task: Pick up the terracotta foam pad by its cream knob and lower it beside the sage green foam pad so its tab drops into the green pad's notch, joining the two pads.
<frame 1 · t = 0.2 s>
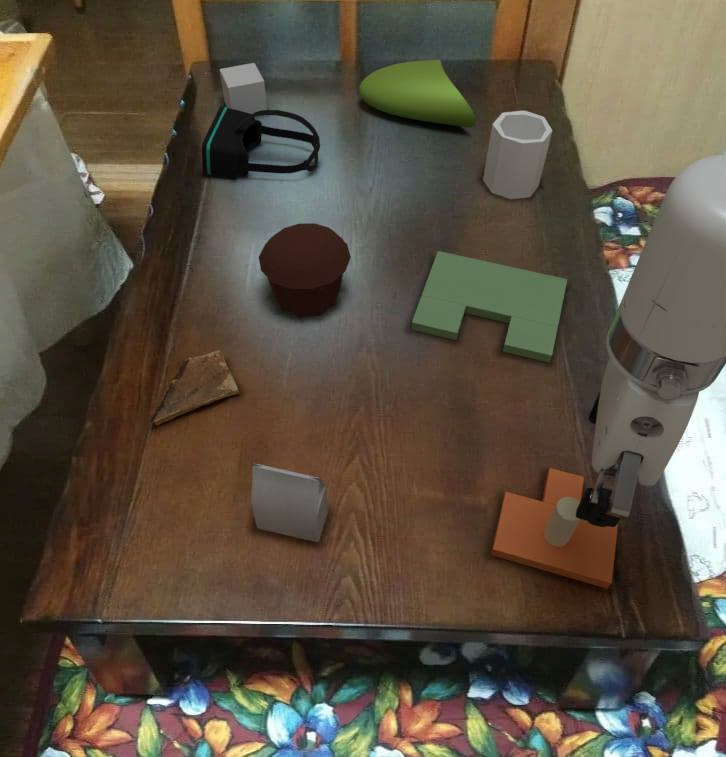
hand: (600, 469, 62), 18 cm above the table, tool pointing down, fingers open, 9 cm apart
shard: (203, 397, 88), on the table
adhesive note: (246, 108, 125), on the table
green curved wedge: (416, 112, 125), on the table
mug: (510, 176, 115), on the table
notch pad: (489, 307, 97), on the table
grey piece: (292, 520, 78), on the table
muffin: (307, 294, 99), on the table
virtual reality headset: (266, 163, 116), on the table
tab pad: (553, 541, 77), on the table
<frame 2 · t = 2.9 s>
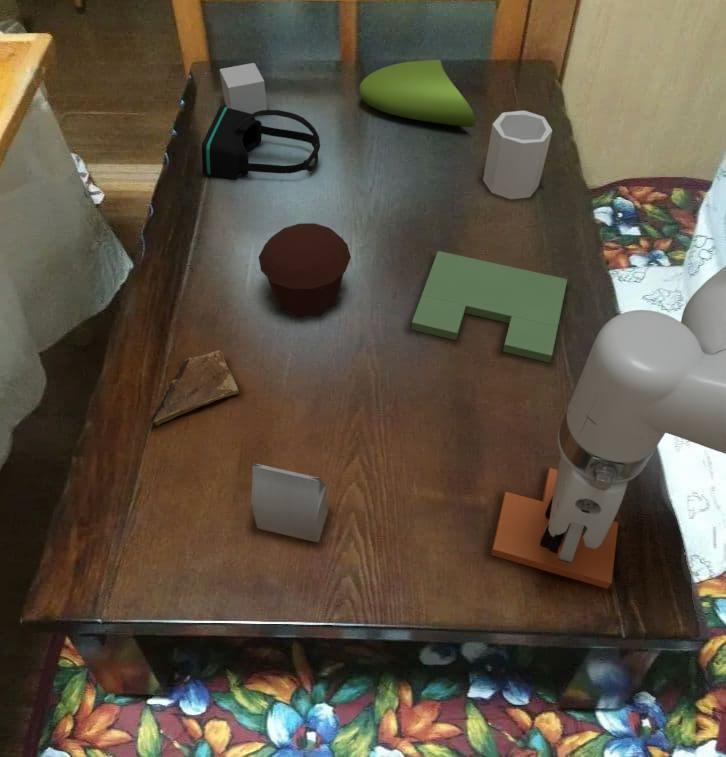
hand: (558, 532, 75), 2 cm above the table, tool pointing down, fingers closed on tab pad, 2 cm apart
tab pad: (553, 541, 77), on the table, touching gripper
everything else where it was.
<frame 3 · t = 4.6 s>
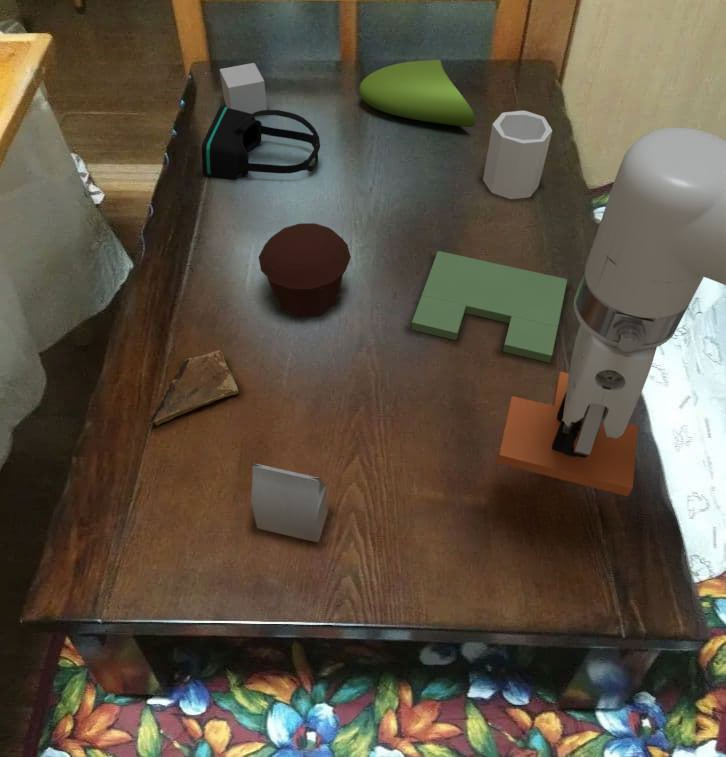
hand: (571, 435, 67), 15 cm above the table, tool pointing down, fingers closed on tab pad, 2 cm apart
tab pad: (566, 448, 69), point 13 cm above the table, touching gripper
everything else where it was.
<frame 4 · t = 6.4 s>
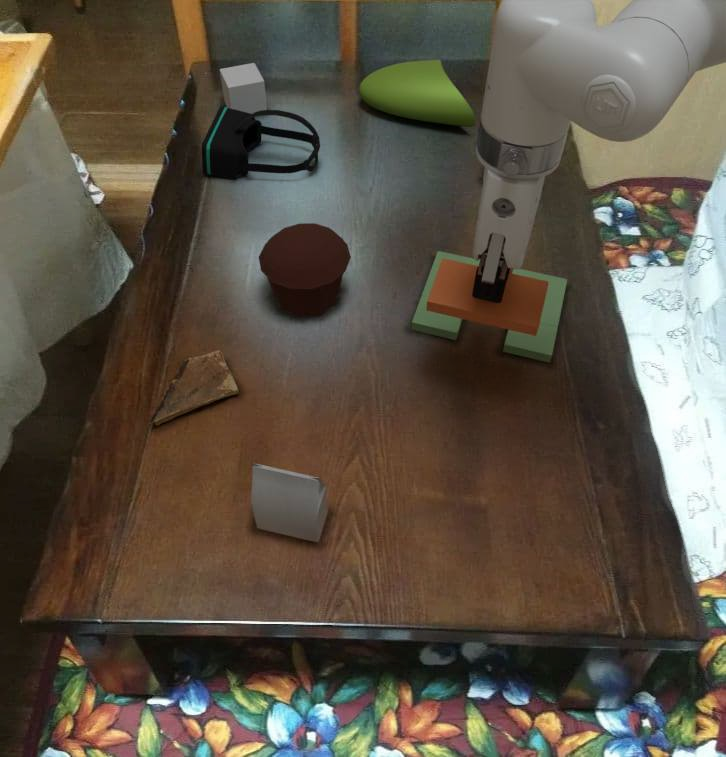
hand: (490, 286, 79), 15 cm above the table, tool pointing down, fingers closed on tab pad, 2 cm apart
tab pad: (486, 300, 80), point 13 cm above the table, touching gripper
everything else where it was.
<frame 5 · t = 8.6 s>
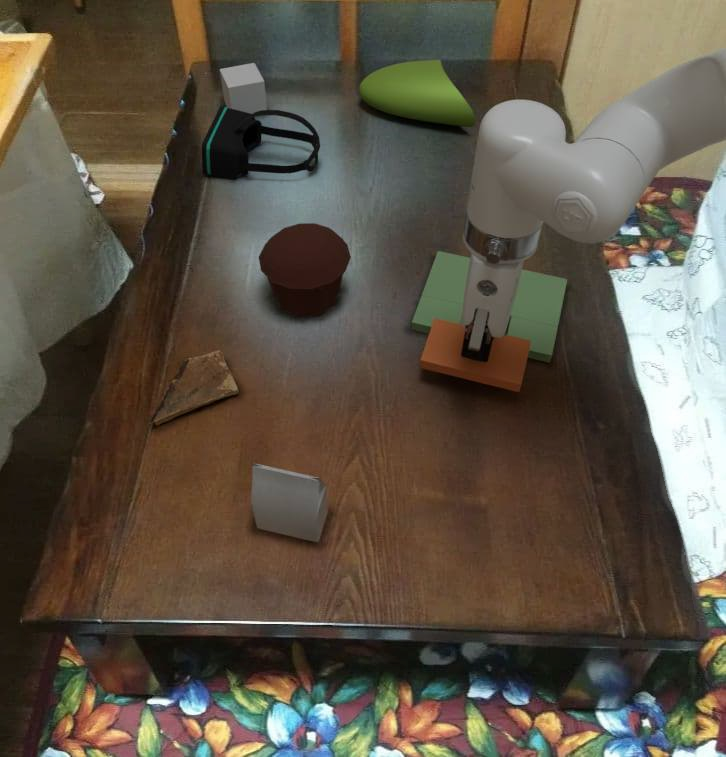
hand: (477, 346, 87), 5 cm above the table, tool pointing down, fingers closed on tab pad, 2 cm apart
tab pad: (474, 358, 88), point 3 cm above the table, touching gripper
everything else where it was.
when the fingers open (2 cm above the table, at t = 10.0 s): tab pad stays where it is, on the table.
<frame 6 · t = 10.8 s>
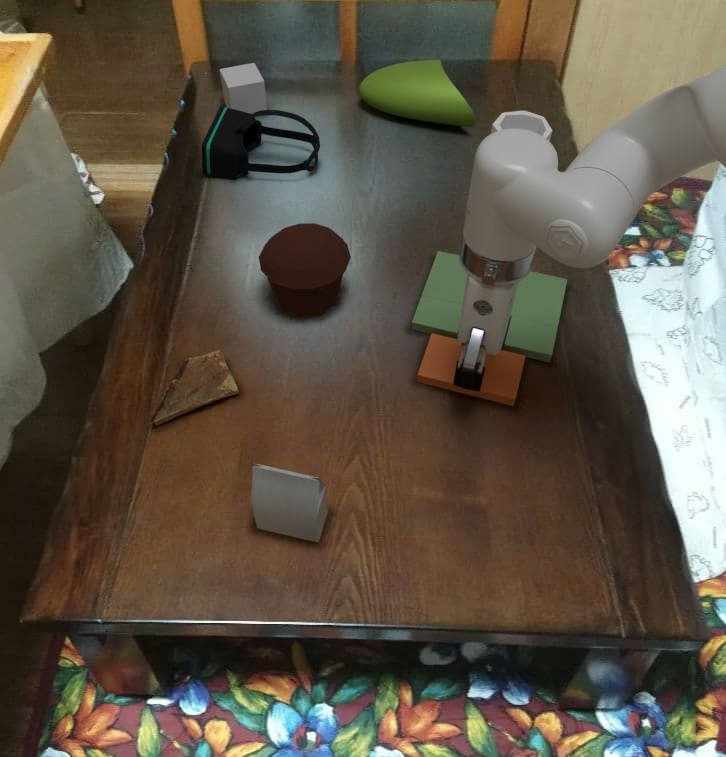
hand: (475, 355, 88), 3 cm above the table, tool pointing down, fingers open, 9 cm apart
tab pad: (470, 372, 91), on the table
everything else where it was.
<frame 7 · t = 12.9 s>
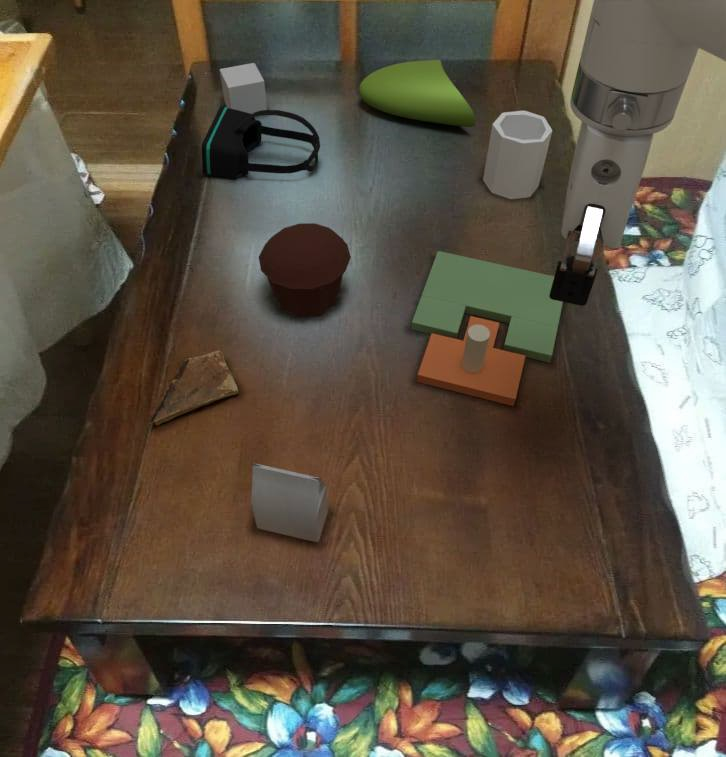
hand: (574, 263, 67), 25 cm above the table, tool pointing down, fingers open, 9 cm apart
nothing on the table moved.
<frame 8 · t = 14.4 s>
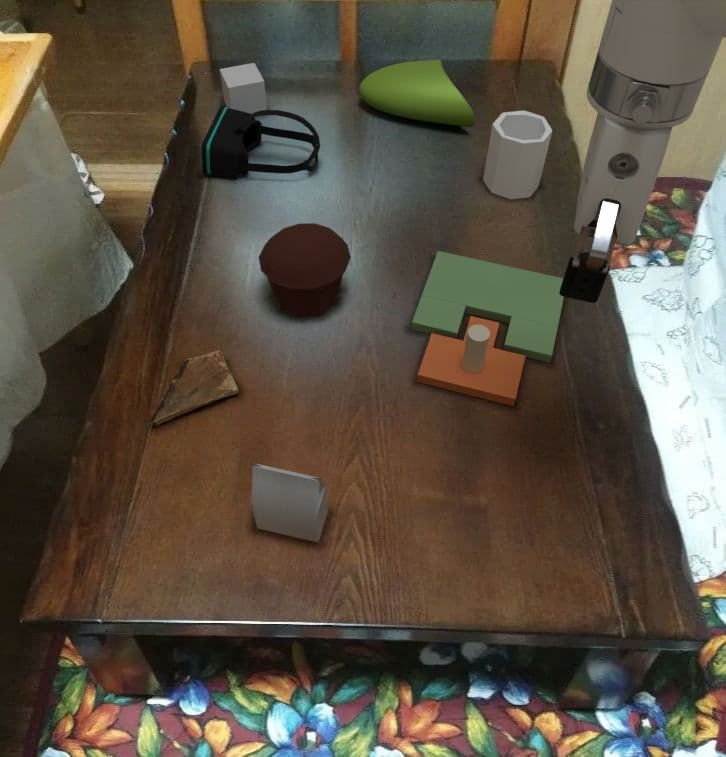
hand: (584, 259, 65), 26 cm above the table, tool pointing down, fingers open, 9 cm apart
nothing on the table moved.
at the end: tab pad 0.1 cm from the target spot on the table beside the notch pad, on the table; tab pad tilted 0° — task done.
